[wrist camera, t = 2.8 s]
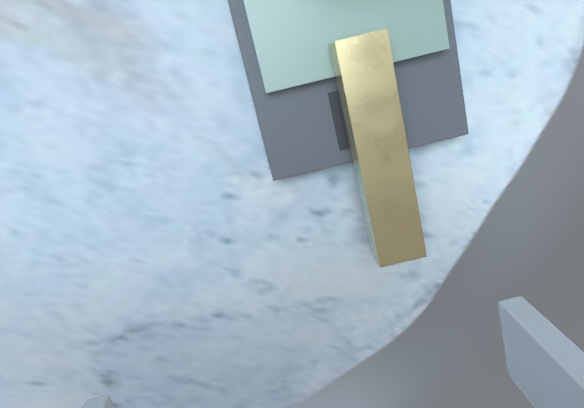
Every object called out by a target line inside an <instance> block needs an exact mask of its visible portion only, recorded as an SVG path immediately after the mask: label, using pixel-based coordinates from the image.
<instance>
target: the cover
mask: <svg viewBox="0 0 584 408" xmlns="http://www.w3.org/2000/svg"><path fill="white" fill-rule="evenodd" d="M243 1H244V5H245V9H246V13H247V17H248V21H249V26H250V30H251V34H252V38H253V42H254V46H255V50H256V54H257V58H258V62H259V66H260V71H261V75H262V79H263V83H264V87H265V91H266V93H269V92H273V91H278V90H282V89H286V88H290V87H294V86H298V85H302V84H306V83H310V82H314V81H319V80H323V79H327V78H331V77H335V72H334V67H333V62H332V57H331V53H330V48H329V44H330V43H332V42H334V41H338V40H342V39H346V38H350V37H354V36H358V35H362V34H366V33H370V32H374V31H378V30H382V29H386V28H387V30H388V36H389V42H390V47H391V53H392V59H393V62H396V61H400V60H405V59H409V58H413V57H417V56H421V55H425V54H429V53H433V52H437V51H441V50H445V49H450V48H449V40H448V33H447V26H446V19H445V12H444V5H443V0H243Z"/></svg>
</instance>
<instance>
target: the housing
mask: <svg viewBox="0 0 584 408" xmlns="http://www.w3.org/2000/svg"><path fill="white" fill-rule="evenodd" d="M228 3H229V7H230V11H231V15H232V19H233V23H234V27H235V31H236V35H237V39H238V43H239V47H240V51H241V55H242V59H243V63H244V67H245V70H246V74H247V78H248V82H249V86H250V90H251V94H252V98H253V102H254V106H255V110H256V114H257V118H258V122H259V126H260V130H261V134H262V138H263V142H264V146H265V150H266V154H267V158H268V161H269V165H270V169H271V173H272V177H273V181H274V180H278V179H283V178H287V177H291V176H295V175H299V174H304V173H308V172H312V171H316V170H320V169H324V168H329V167H333V166H337V165H341V164H345V163H349V162H353V160H352V155H351V150H350V145H349V140H348V136H347V131H346V126H345V121H344V116H343V111H342V106H341V101H340V96H339V92H338V87H337V82H336V77H331V78H327V79H323V80H319V81H314V82H310V83H306V84H302V85H298V86H294V87H290V88H286V89H282V90H278V91H273V92H269V93H266V91H265V87H264V83H263V79H262V75H261V71H260V66H259V62H258V58H257V54H256V50H255V46H254V42H253V38H252V34H251V30H250V26H249V21H248V17H247V13H246V9H245V5H244V1H243V0H228ZM443 5H444V12H445V19H446V26H447V33H448V40H449V48H450V49H445V50H441V51H437V52H433V53H429V54H425V55H421V56H417V57H413V58H409V59H405V60H400V61H396V62H393V65H394V71H395V76H396V82H397V88H398V94H399V100H400V105H401V111H402V117H403V123H404V129H405V134H406V140H407V146H408V148H412V147H416V146H420V145H425V144H429V143H433V142H437V141H441V140H446V139H450V138H454V137H458V136H462V135H466V134H469V133H468V126H467V119H466V112H465V104H464V97H463V90H462V82H461V75H460V68H459V61H458V53H457V46H456V39H455V31H454V24H453V17H452V10H451V2H450V0H443Z"/></svg>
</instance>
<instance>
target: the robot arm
mask: <svg viewBox="0 0 584 408" xmlns="http://www.w3.org/2000/svg"><path fill="white" fill-rule="evenodd" d="M498 306H499V313H500V319H501V327H502V333H503V340H504V348H505V354H506V361H507V368H508V374H509V375H510V376H511V378H512V379H513V380H514V382H515V383H516V384H517V386H518V387H519V388H520V389H521V391H522V392H523V393H524V395H525V396H526V397H527V398H528V400H529V401H530V402H531V404H532V405H533V406H534V407H535V408H584V352H582V351H581V350H580V349H579V348H578V347H577V346H576V345H575V344H573V343H572V342H571V341H570V340H569V339H568V338H567V337H566V336H565V335H563V334H562V333H561V332H560V331H559V330H558V329H557V328H556V327H555V326H554V325H553V324H551V323H550V322H549V321H548V320H547V319H546V318H545V317H544V316H543V315H541V314H540V313H539V312H538V311H537V310H536V309H535V308H534V307H533V306H532V305H530V304H529V303H528V302H527V301H526V300H525V299H524V298H523V297H522V296H520V297H515V298H512V299H507V300H503V301H499V302H498ZM83 408H114V406H113V403H112V401H111V398H110V396H109V395H106V396H102V397H97V398H93V399H89V400H87V401H86V402H85V404H84V406H83Z"/></svg>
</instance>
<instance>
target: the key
mask: <svg viewBox="0 0 584 408" xmlns="http://www.w3.org/2000/svg"><path fill="white" fill-rule="evenodd" d="M329 48H330V53H331V57H332V62H333V67H334V72H335V77H336V82H337V87H338V92H339V96H340V101H341V106H342V111H343V116H344V121H345V126H346V131H347V136H348V140H349V145H350V150H351V155H352V160H353V165H354V170H355V175H356V179H357V184H358V189H359V194H360V199H361V204H362V209H363V214H364V218H365V223H366V228H367V233H368V238H369V243H370V248H371V251H372V253H373V255H374V257H375V259H376V260H377V262H378V264H379V266H380V267H384V266H388V265H393V264H397V263H401V262H405V261H410V260H414V259H418V258H423V257H427V256H426V250H425V245H424V239H423V233H422V227H421V221H420V216H419V210H418V204H417V198H416V192H415V187H414V181H413V175H412V169H411V163H410V158H409V152H408V146H407V140H406V134H405V129H404V123H403V117H402V111H401V105H400V100H399V94H398V88H397V82H396V76H395V71H394V65H393V59H392V53H391V47H390V42H389V36H388V30H387V28H386V29H382V30H378V31H374V32H370V33H366V34H362V35H358V36H354V37H350V38H346V39H342V40H338V41H334V42H332V43H330V44H329Z"/></svg>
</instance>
